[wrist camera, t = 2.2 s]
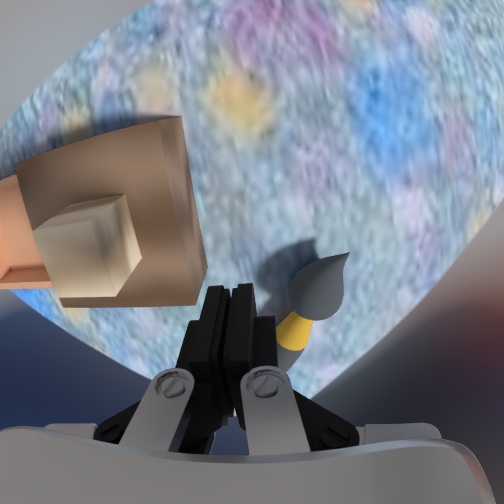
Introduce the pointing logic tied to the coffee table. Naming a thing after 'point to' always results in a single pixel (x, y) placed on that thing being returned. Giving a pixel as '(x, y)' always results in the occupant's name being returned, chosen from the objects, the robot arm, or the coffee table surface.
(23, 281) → the tray
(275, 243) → the coffee table surface
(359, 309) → the coffee table surface
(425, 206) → the coffee table surface
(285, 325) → the paintbrush
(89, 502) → the robot arm
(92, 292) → the beech block
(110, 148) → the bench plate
